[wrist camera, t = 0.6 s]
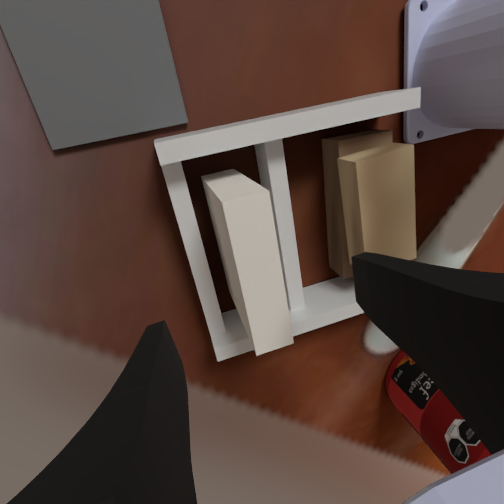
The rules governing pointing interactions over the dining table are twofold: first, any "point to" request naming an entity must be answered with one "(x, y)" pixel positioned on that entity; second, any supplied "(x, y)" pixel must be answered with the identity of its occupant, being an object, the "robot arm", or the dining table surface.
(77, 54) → the mat
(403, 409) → the canned food
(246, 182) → the cream rectangular block
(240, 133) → the rack
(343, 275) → the offcut low
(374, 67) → the dining table surface
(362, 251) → the offcut top
